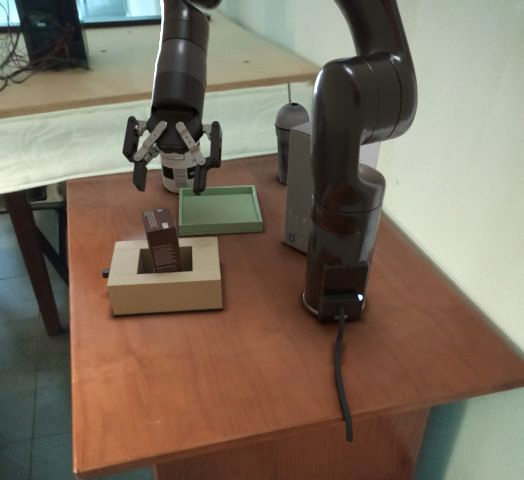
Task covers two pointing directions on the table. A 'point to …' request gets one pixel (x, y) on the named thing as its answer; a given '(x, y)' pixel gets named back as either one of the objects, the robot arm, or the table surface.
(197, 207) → the tray
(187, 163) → the supplement can
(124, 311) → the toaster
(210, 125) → the robot arm
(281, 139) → the beverage cup
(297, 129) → the hard drive box
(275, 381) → the table surface
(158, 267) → the box
